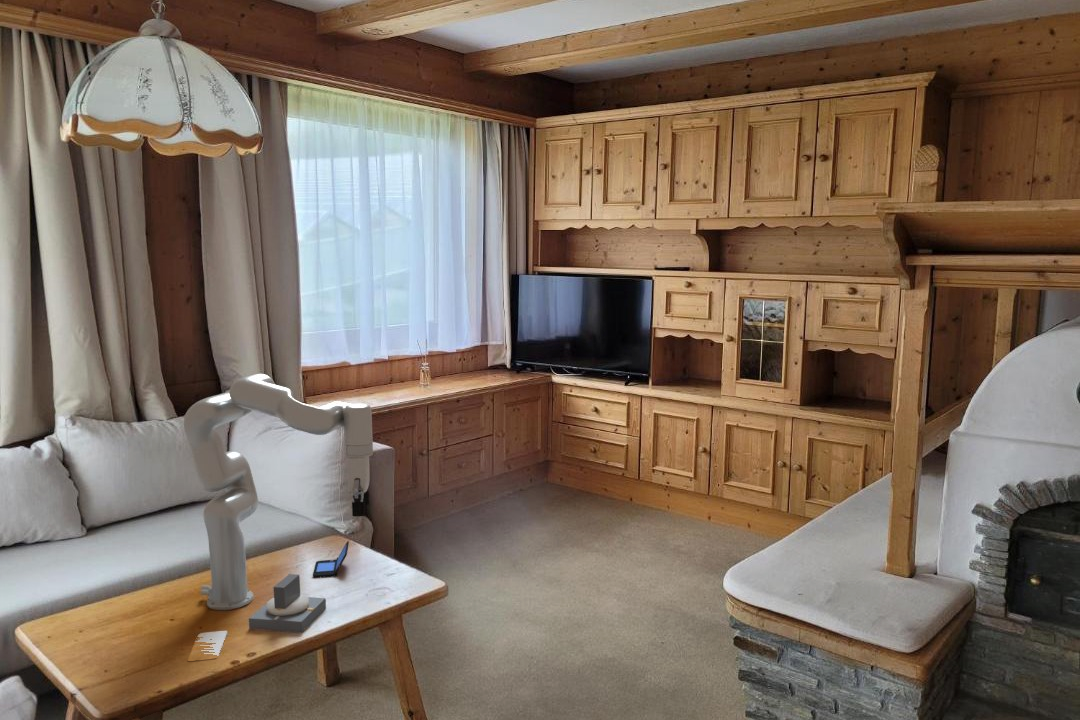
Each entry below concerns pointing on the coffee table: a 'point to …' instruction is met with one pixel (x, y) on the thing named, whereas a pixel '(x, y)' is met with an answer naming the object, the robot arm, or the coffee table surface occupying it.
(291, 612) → the dial
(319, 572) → the handheld game console
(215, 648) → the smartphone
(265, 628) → the control plate
